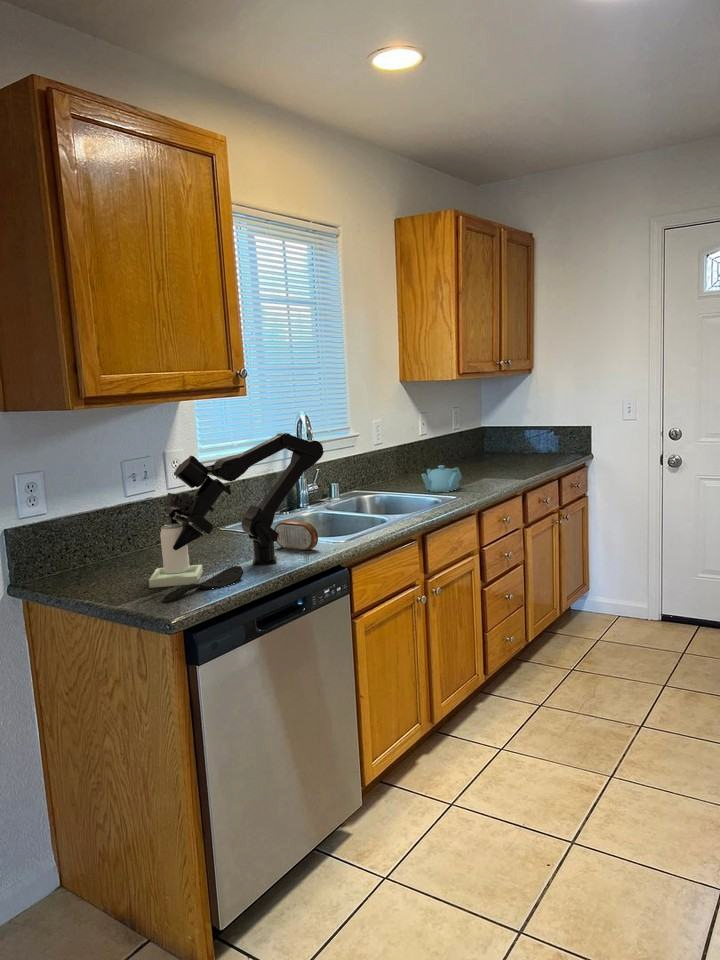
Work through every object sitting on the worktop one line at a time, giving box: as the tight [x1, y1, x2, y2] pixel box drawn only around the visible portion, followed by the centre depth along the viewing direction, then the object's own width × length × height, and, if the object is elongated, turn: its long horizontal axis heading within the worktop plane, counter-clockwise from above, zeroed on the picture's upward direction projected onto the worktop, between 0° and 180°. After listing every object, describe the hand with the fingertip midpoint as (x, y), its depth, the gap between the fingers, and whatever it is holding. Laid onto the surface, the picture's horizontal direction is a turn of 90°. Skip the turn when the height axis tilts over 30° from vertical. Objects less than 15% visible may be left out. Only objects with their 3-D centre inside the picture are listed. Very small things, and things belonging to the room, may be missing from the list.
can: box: [159, 524, 190, 574], centre depth 192 cm, size 6×6×12 cm
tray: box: [148, 564, 204, 589], centre depth 193 cm, size 12×12×2 cm
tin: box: [273, 519, 319, 551], centre depth 220 cm, size 15×3×8 cm, turn 56°
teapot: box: [421, 464, 463, 491], centre depth 312 cm, size 15×15×11 cm
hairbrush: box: [161, 562, 244, 604], centre depth 182 cm, size 8×4×25 cm
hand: (169, 547), depth 191 cm, fingers closed on can, 6 cm apart
